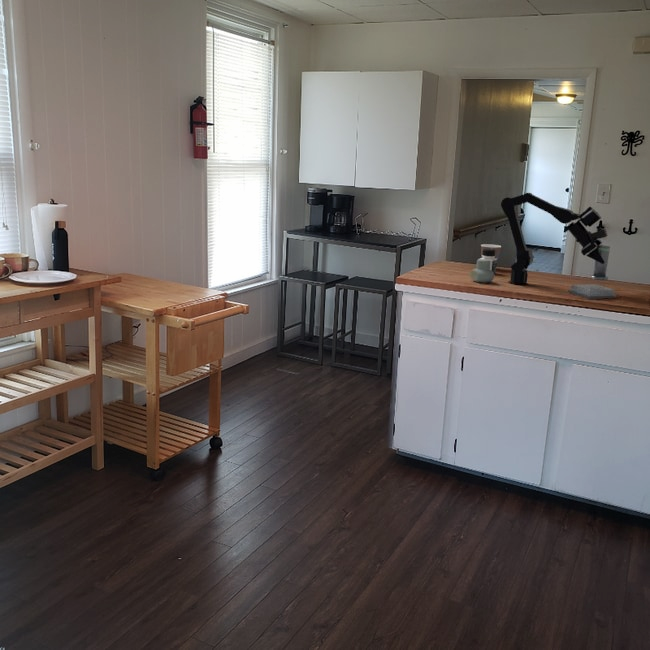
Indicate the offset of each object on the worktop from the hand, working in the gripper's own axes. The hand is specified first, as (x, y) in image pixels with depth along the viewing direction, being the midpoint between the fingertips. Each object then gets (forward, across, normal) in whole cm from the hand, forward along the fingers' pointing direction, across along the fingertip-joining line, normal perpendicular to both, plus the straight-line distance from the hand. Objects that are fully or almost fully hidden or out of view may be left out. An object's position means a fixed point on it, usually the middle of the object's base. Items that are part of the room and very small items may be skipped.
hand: (604, 262), depth 285 cm
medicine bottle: (-29, +20, +49) cm, 60 cm away
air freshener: (-25, -6, +45) cm, 52 cm away
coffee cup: (-31, +34, +51) cm, 69 cm away
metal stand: (+8, -7, +11) cm, 15 cm away
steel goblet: (+4, 0, +6) cm, 7 cm away
